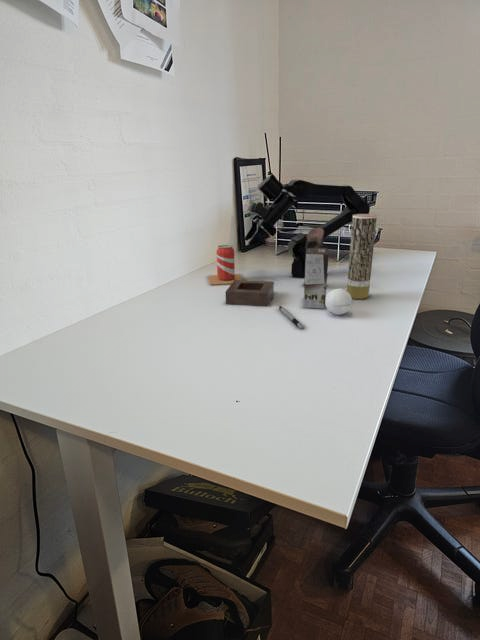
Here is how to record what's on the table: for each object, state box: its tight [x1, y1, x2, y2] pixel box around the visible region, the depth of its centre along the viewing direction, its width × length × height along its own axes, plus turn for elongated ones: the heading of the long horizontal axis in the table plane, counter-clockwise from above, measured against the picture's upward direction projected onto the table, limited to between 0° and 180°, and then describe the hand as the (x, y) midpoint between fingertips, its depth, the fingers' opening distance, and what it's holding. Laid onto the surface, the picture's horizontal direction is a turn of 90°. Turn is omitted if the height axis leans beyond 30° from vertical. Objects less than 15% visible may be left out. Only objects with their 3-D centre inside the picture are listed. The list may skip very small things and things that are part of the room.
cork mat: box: [208, 273, 244, 286], centre depth 147 cm, size 12×12×1 cm
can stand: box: [225, 279, 275, 307], centre depth 126 cm, size 13×13×4 cm
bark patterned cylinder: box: [346, 213, 378, 300], centre depth 122 cm, size 7×7×25 cm
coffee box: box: [302, 247, 330, 310], centre depth 118 cm, size 9×6×16 cm
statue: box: [302, 227, 324, 287], centre depth 134 cm, size 7×7×20 cm
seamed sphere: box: [325, 287, 362, 316], centre depth 111 cm, size 10×7×7 cm
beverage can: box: [216, 244, 236, 280], centre depth 145 cm, size 6×6×12 cm
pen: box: [278, 305, 304, 329], centre depth 109 cm, size 1×16×1 cm, turn 15°
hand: (247, 242), depth 143 cm, fingers open, 9 cm apart
